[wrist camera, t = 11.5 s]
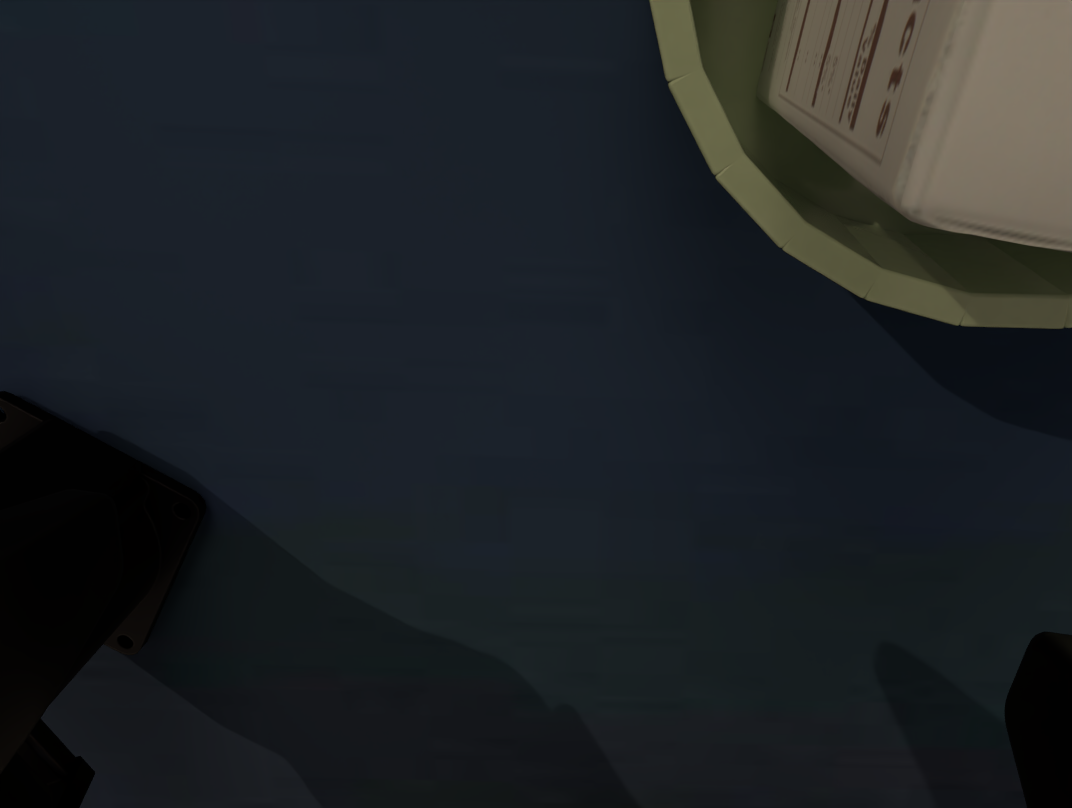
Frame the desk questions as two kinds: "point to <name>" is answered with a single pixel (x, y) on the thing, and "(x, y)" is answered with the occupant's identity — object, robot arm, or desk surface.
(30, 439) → the robot arm
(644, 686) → the desk surface
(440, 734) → the desk surface
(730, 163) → the bowl
